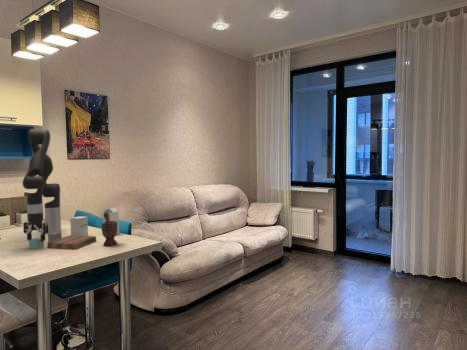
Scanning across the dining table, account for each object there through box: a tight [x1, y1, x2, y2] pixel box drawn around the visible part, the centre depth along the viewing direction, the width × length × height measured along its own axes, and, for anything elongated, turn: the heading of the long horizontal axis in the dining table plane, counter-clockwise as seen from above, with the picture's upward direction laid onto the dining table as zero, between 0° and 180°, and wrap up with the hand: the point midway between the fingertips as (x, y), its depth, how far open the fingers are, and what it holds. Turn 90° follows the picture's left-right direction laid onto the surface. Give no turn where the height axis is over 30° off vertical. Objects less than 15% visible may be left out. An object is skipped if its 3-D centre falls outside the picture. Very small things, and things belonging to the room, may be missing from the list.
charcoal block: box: [47, 232, 63, 243], centre depth 199 cm, size 5×5×5 cm
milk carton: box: [102, 204, 120, 236], centre depth 215 cm, size 7×7×19 cm
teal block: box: [28, 237, 45, 250], centre depth 185 cm, size 5×5×5 cm
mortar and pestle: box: [100, 211, 118, 247], centre depth 187 cm, size 12×9×20 cm
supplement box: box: [69, 215, 89, 236], centre depth 210 cm, size 7×7×13 cm
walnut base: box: [46, 234, 97, 250], centre depth 191 cm, size 18×18×3 cm
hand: (36, 240), depth 185 cm, fingers open, 8 cm apart
